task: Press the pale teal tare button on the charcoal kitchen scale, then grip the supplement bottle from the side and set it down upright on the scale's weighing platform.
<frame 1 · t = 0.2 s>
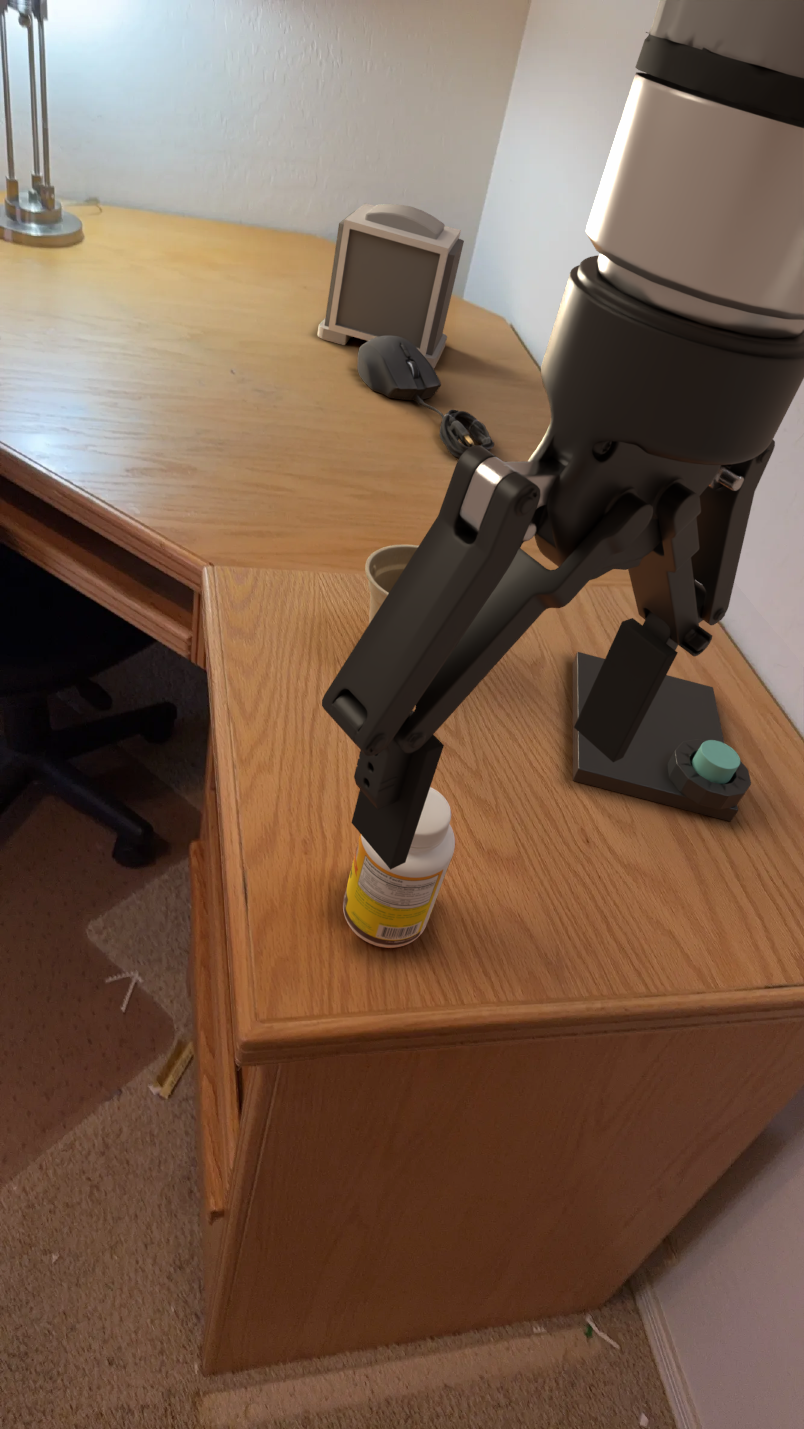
hand: (498, 788, 39), 19 cm above the table, tool pointing down, fingers open, 13 cm apart
scale: (645, 736, 75), on the table
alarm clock: (382, 342, 137), on the table
tare button: (715, 761, 69), point 4 cm above the table, slide at 0.1 cm
computer mouse: (419, 410, 119), on the table
supplement bottle: (383, 916, 56), on the table
flower pot: (400, 659, 77), on the table
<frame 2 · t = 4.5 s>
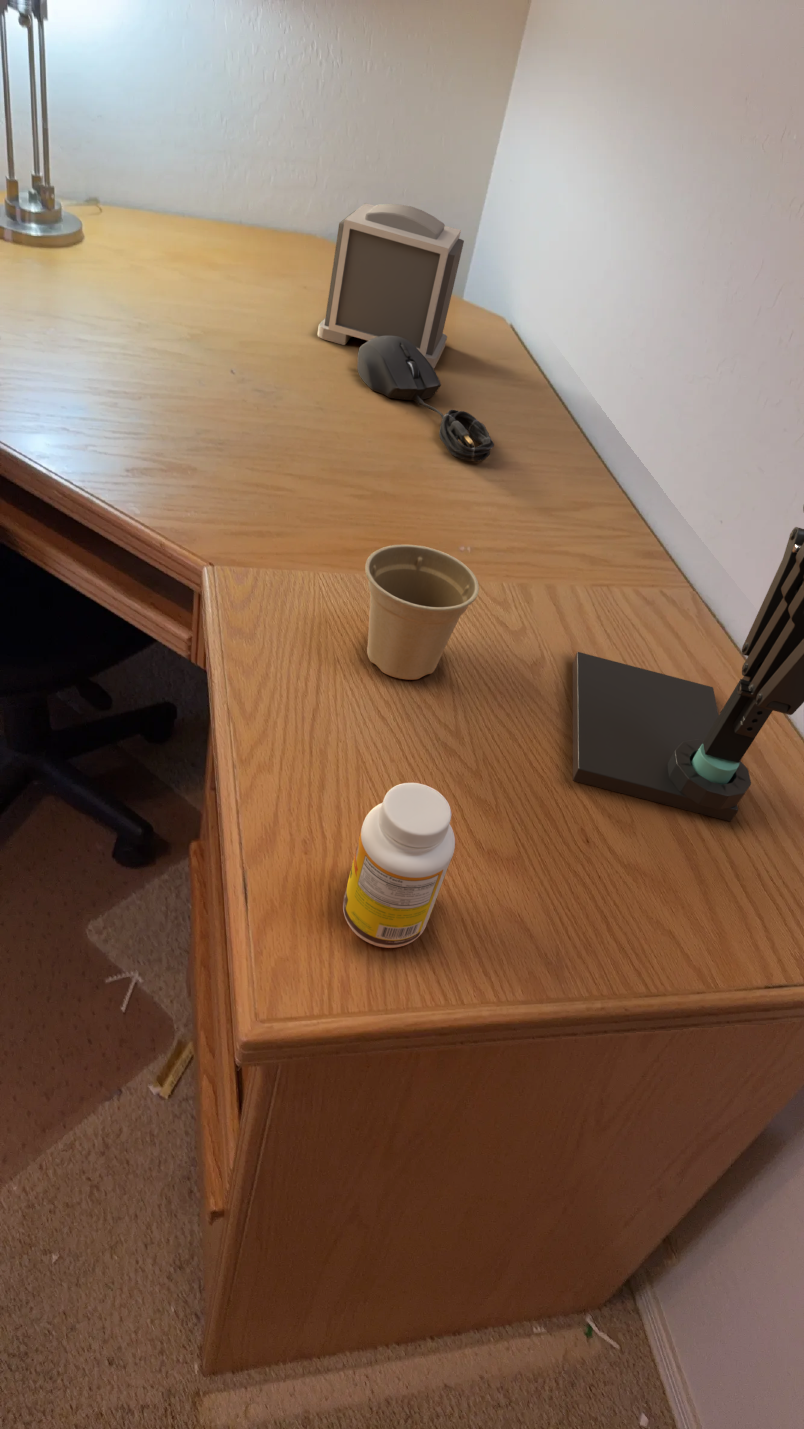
hand: (720, 752, 68), 4 cm above the table, tool pointing down, fingers closed
tare button: (714, 763, 69), point 3 cm above the table, slide at 0.0 cm, touching gripper
everything else where it was.
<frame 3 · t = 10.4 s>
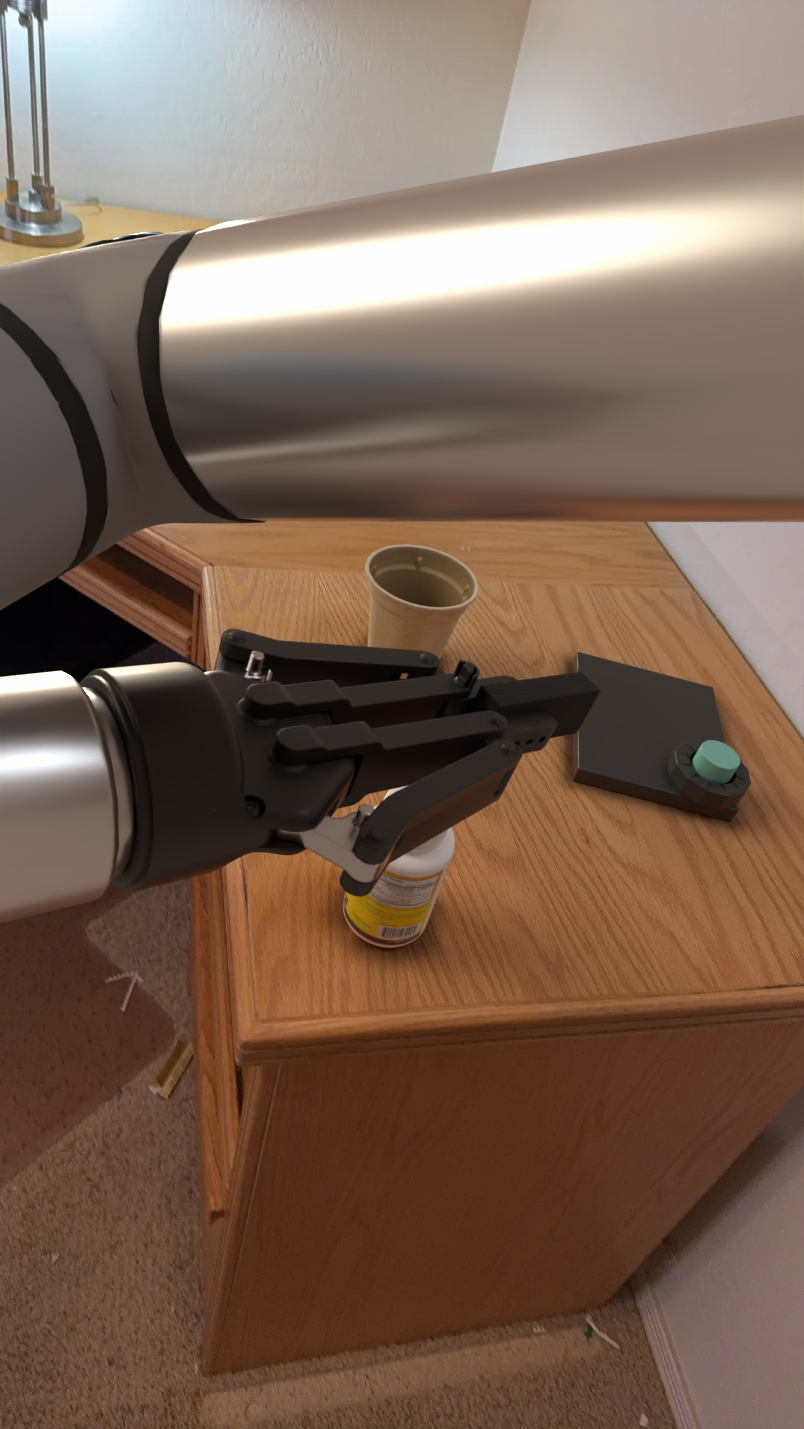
hand: (578, 702, 43), 20 cm above the table, tool horizontal, fingers closed
tare button: (715, 762, 69), point 3 cm above the table, slide at 0.1 cm
everything else where it was.
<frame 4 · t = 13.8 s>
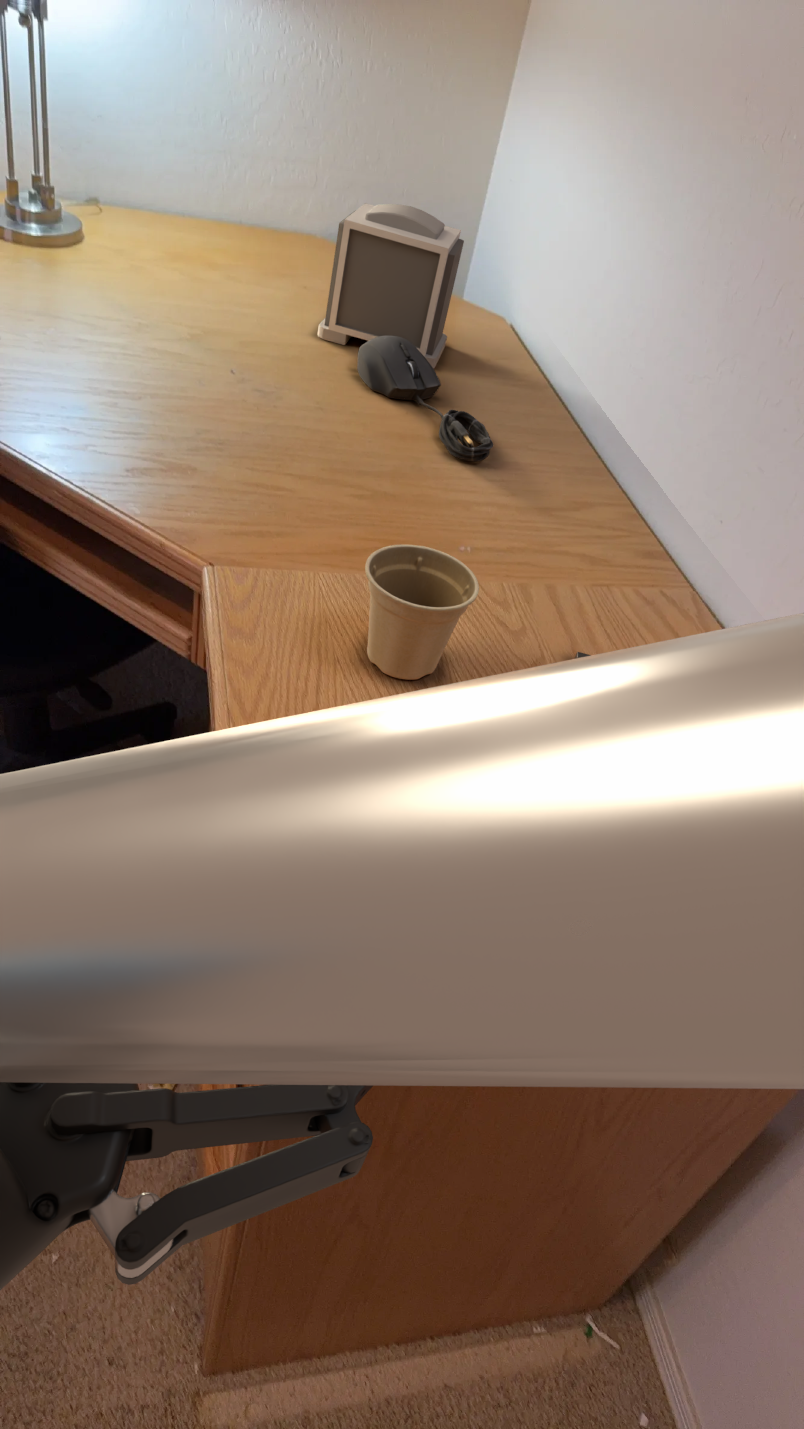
hand: (312, 894, 44), 10 cm above the table, tool horizontal, fingers open, 13 cm apart
nothing on the table moved.
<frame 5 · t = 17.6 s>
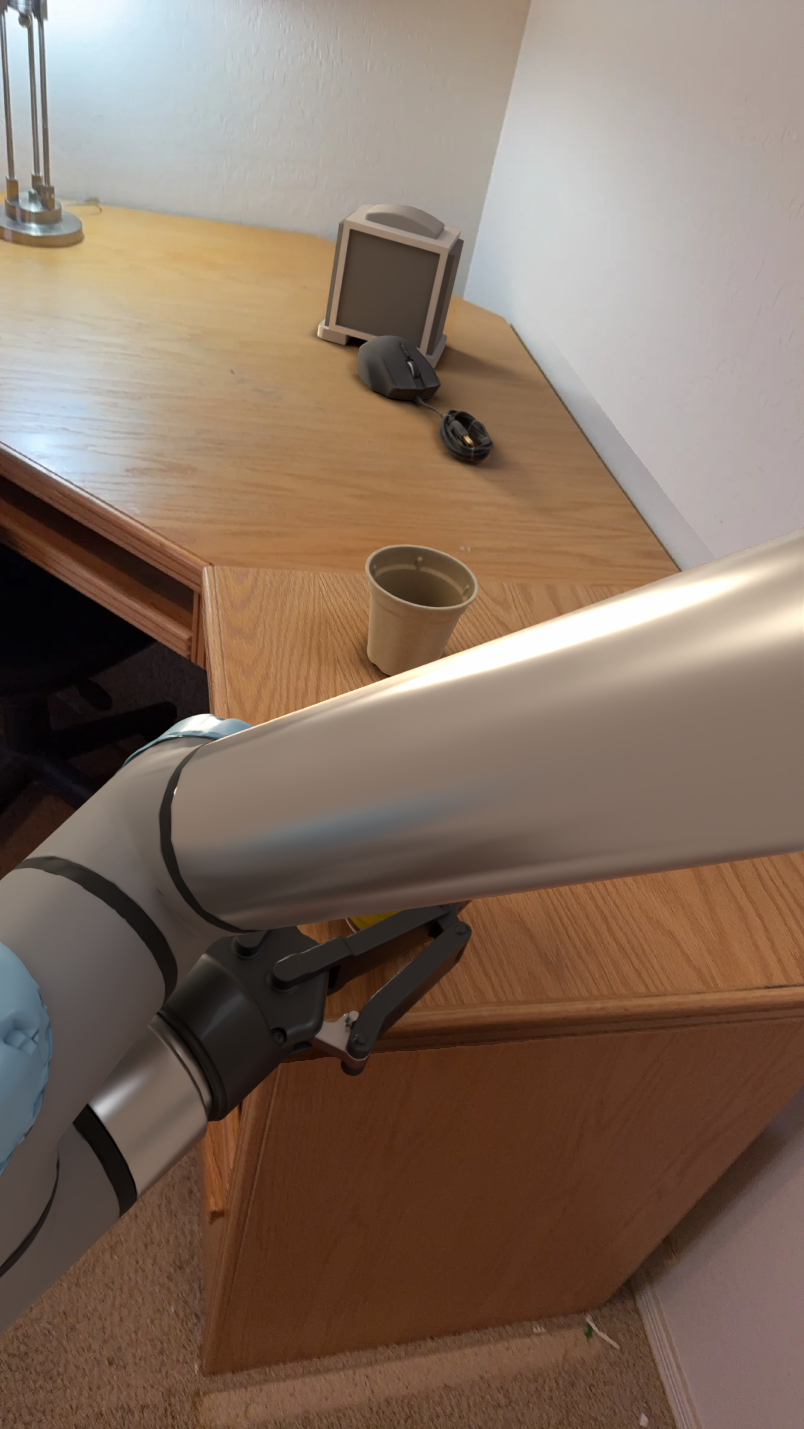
hand: (452, 812, 55), 6 cm above the table, tool horizontal, fingers closed on supplement bottle, 6 cm apart
supplement bottle: (382, 916, 56), on the table, touching gripper
everything else where it was.
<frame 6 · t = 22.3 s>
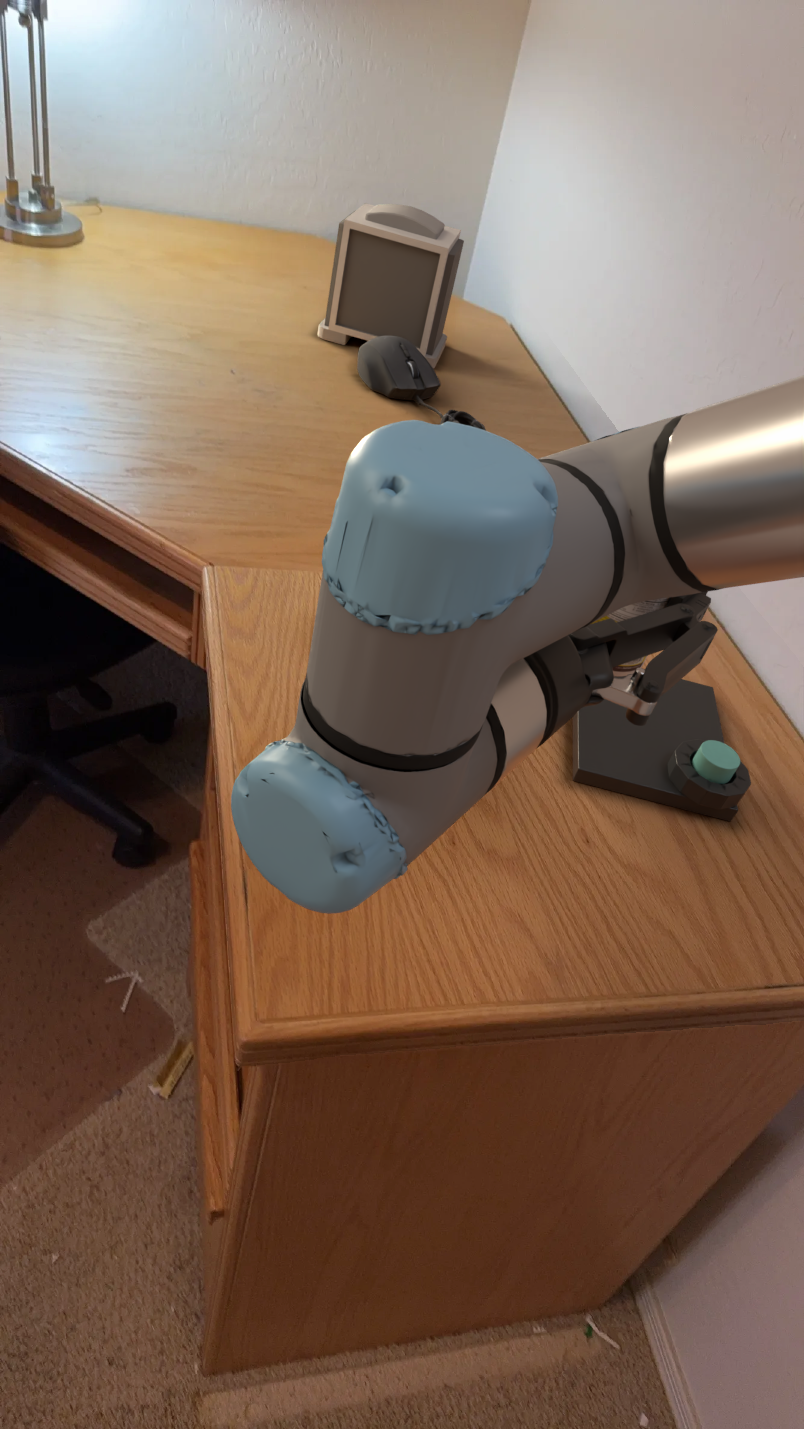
hand: (666, 560, 61), 18 cm above the table, tool horizontal, fingers closed on supplement bottle, 6 cm apart
supplement bottle: (602, 657, 62), point 12 cm above the table, touching gripper
everything else where it was.
when the fingers open (7 cm above the table, at t = 27.1 s): supplement bottle stays where it is, resting on scale.
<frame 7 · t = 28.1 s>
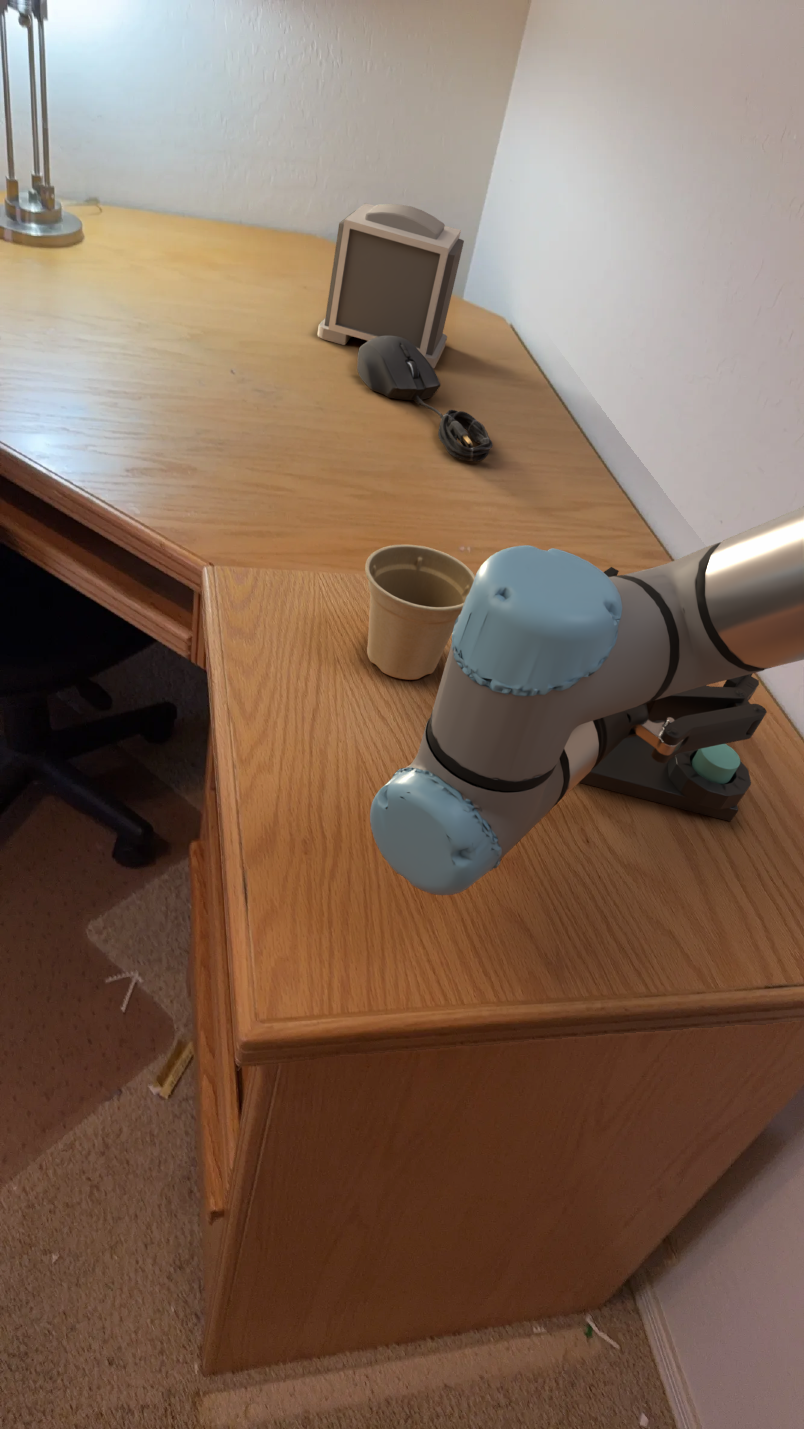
hand: (679, 620, 73), 9 cm above the table, tool horizontal, fingers open, 13 cm apart
supplement bottle: (626, 705, 76), point 1 cm above the table, touching scale
everything else where it was.
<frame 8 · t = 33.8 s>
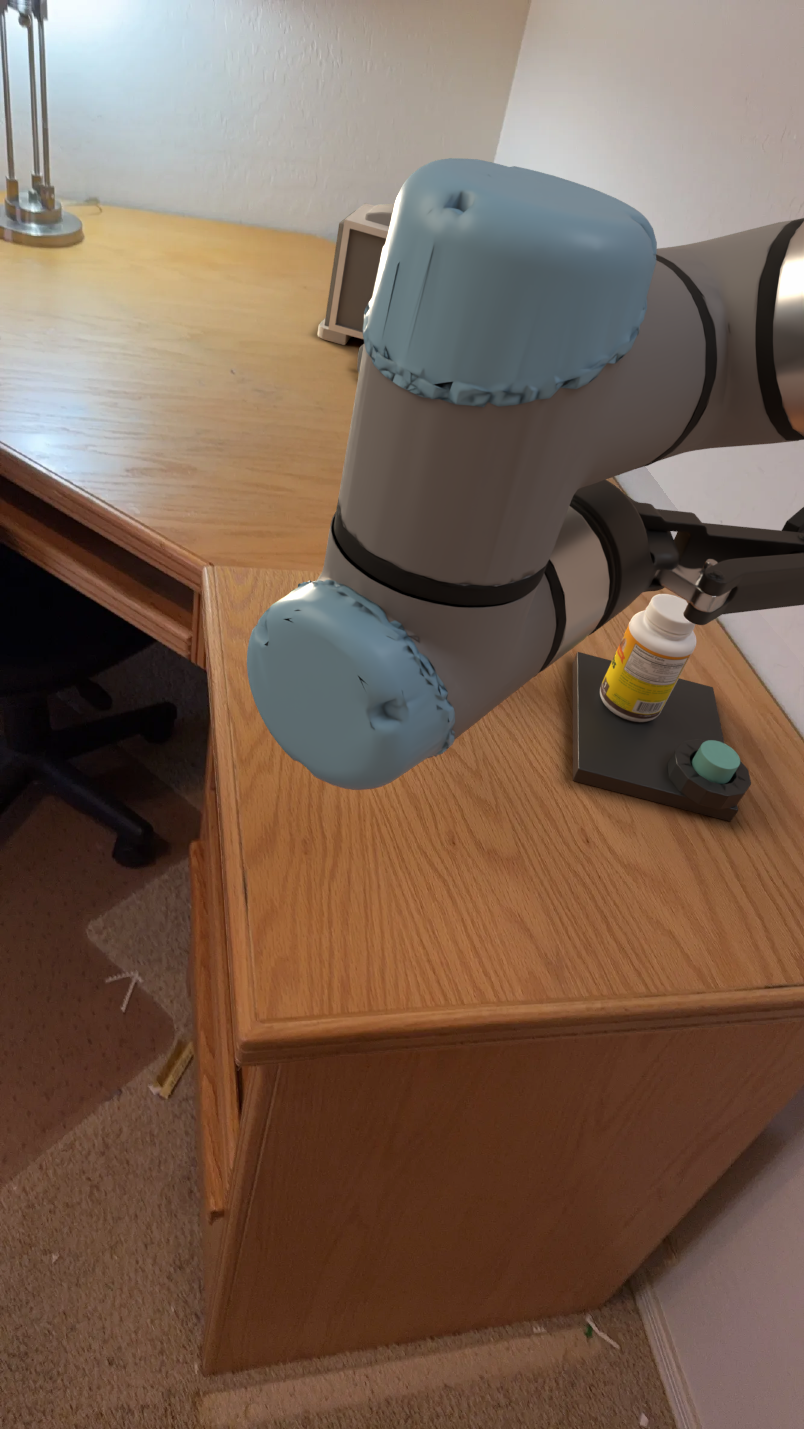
hand: (713, 465, 54), 26 cm above the table, tool horizontal, fingers open, 13 cm apart
nothing on the table moved.
at the end: tare button pushed in 0.8 cm at the most during the clip, back to where it started at the end; supplement bottle inside the target area on the scale (2.8 cm from its centre), point 1.2 cm above the scale's base; supplement bottle touching scale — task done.
